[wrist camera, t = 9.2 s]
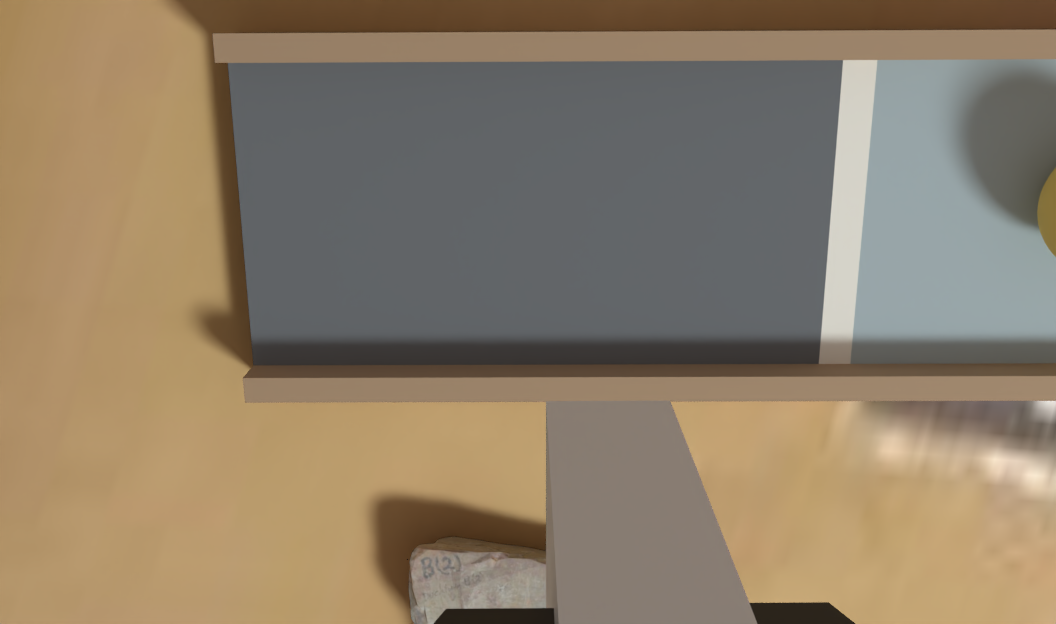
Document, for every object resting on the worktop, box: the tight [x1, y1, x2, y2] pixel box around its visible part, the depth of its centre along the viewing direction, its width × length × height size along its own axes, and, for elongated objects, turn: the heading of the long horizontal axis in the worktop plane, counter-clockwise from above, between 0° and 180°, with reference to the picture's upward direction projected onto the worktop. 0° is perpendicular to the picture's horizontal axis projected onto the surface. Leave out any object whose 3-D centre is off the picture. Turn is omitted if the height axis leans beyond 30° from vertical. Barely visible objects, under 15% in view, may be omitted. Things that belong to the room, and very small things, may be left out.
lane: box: [212, 29, 1056, 402], centre depth 29 cm, size 32×11×4 cm, turn 90°
